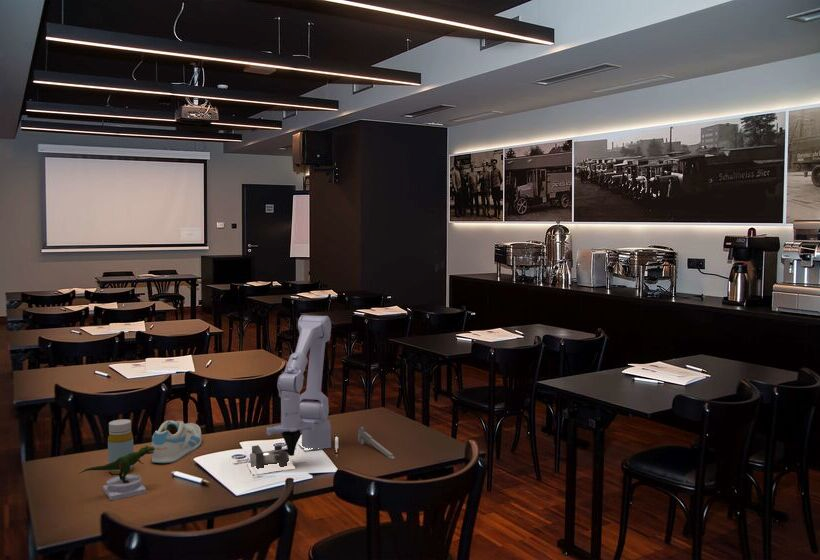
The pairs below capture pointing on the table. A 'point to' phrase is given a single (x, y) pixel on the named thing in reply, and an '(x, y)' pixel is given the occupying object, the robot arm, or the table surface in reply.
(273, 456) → the tube
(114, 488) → the dinosaur figurine
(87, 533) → the table surface
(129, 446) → the bottle
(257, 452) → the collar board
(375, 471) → the table surface
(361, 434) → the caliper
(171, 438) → the sneaker
